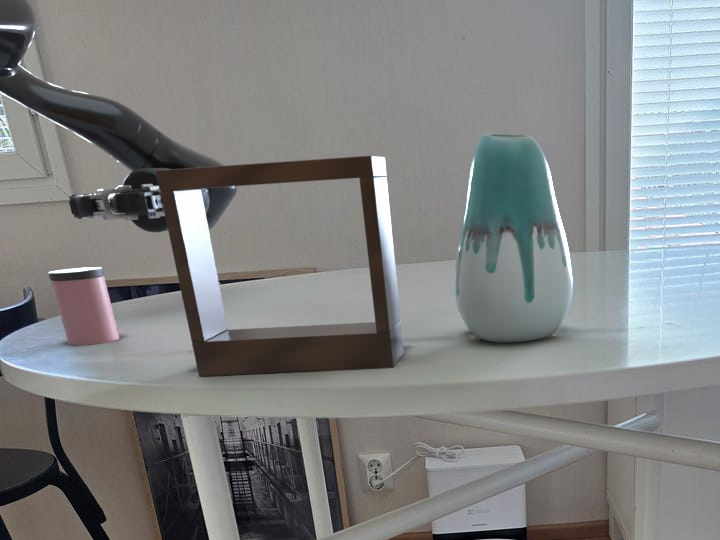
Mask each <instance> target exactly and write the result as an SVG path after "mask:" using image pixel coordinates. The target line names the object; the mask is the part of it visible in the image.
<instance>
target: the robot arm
mask: <svg viewBox="0 0 720 540" xmlns="http://www.w3.org/2000/svg"><path fill="white" fill-rule="evenodd" d="M36 27H37V20H36V14H35V12H34V9H33V6H32V5H31V3H30V1H29V0H0V94H1V95H4V96H6V97H7V98H9V99H11V100H13V101H15V102H17V103H18V104H20V105H22V106H24V107H25V108H28V109H29V110H31V111H33V112H35V113H37V114H38V115H40V116H43V117H44V118H45V119H48V120H49V121H51V122H54V123H55V124H57V125H58V126H61V127H63V128H65V129H67V130H68V131H71V132H72V133H74V134H76V135H77V136H79V137H80V138H82V139H84V140H86V141H87V142H89V143H90V144H92V145H93V146H95V147H96V148H98V149H100V150H101V151H103V152H104V153H106V154H107V155H108V156H110V157H111V158H112V159H114V160H115V161H116V162H118V163H119V164H121V166H123V167H125V168H126V169H127V170H129V171H130V173H128V175H127V176H126V177H125V178H124V180H123V181H122V185H118V186H116V187H115V188H103V189H102V188H101V189H100V188H99V189H97V190H96V191H95V192H92V193H91V194H88V193H82V195H77V194H76V193H75V194H71V195H69V196H68V198H69V201H68V204H69V207H70V212H71V215H73V218H75V219H78V220H82V219H83V218H88V219H94V218H95V217H99V218H100V217H101V218H102V219H103V220H105V221H111V220H113V221H114V220H125V221H131V222H132V223H133V224H134V225H135V226H136V227H138V228H139V229H141V230H143V231H145V232H148V233H163V232H168V227H167V222H166V218H165V213H164V208H163V204H162V199H161V194H160V190H159V185H158V180H157V176H156V170H169V169H184V168H198V167H213V166H226V165H225V164H224V163H223V162H220V161H219V160H217V159H215V158H213V157H211V156H208V155H206V154H204V153H201V152H199V151H197V150H194V149H192V148H189V147H188V146H186V145H183V144H181V143H180V142H178V141H176V140H174V139H172V138H171V137H170V136H168V135H166V134H165V133H163V132H162V131H161V130H159V129H158V128H157V127H156V126H154V125H153V124H152V123H151V122H149V121H148V120H147V119H145V118H144V117H142V115H140V114H139V113H138V112H136V111H135V110H133V109H132V108H131V107H129V106H127V105H126V104H123V103H121V102H119V101H117V100H115V99H111V98H108V97H105V96H101V95H96V94H92V93H86V92H82V91H77V90H72V89H68V88H65V87H61V86H58V85H56V84H55V85H54V84H53V83H50V82H48V81H45V80H44V79H41V78H40V77H38V76H36V75H34V74H33V73H31V72H30V71H28V70H27V69H26V68H24V67H23V66H21V65H20V64H21V63H22V61H23V59H24V58H25V57H24V56H25V55H26V54H27V51H28V49H29V47H30V45H31V44H32V42H33V38H34V36H35V32H36ZM201 192H202V197H203V203H204V208H205V213H206V218H207V224H208V229H209V231H211V230H212V229H213V228H214V227H215V226H216V225H217V223H218V222H219V220H220V219H221V218H222V215H223V214H224V213H225V211H226V210H227V209H228V207H229V206H230V204H231V203H232V202H233V200H234V199H235V197H236V195H237V193H238V186H232V187H217V188H202V189H201Z"/></svg>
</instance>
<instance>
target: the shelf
mask: <svg viewBox="0 0 720 540" xmlns="http://www.w3.org/2000/svg"><path fill="white" fill-rule="evenodd" d="M156 176H157V180H158V185H159V190H160V194H161V199H162V204H163V208H164V213H165V218H166V222H167V227H168V231H167V232H168V236H169V242H170V245H171V251H172V255H173V259H174V264H175V269H176V274H177V279H178V283H179V288H180V294H181V297H182V302H183V307H184V311H185V312H184V313H185V316H186V321H187V325H188V326H187V327H188V330H189V335H190V341H191V346H192V350H193V355H194V359H195V364H196V370H197V375H198V377H219V376H221V377H222V376H237V375H238V376H239V375H241V376H242V375H260V374H261V375H262V374H263V375H264V374H281V373H282V374H284V373H285V374H286V373H303V372H304V373H305V372H323V371H324V372H325V371H346V370H347V371H348V370H365V369H366V370H368V369H369V370H371V369H386V368H387V369H388V368H389V369H390V368H391V369H392V368H394V367H395V366H396V364H397V363H398V362H399V360H400V359H401V358H402V356H403V355H404V354H405V349H404V341H403V340H404V339H403V331H402V322H401V321H402V319H401V311H400V310H401V309H400V298H399V289H398V288H399V287H398V278H397V270H396V260H395V259H396V257H395V248H394V247H395V246H394V237H393V227H392V218H391V216H392V215H391V207H390V197H389V196H390V195H389V187H388V177H387V166H386V157H385V156H384V155H383V156H380V155H360V156H345V157H331V158H318V159H317V158H316V159H315V158H314V159H303V160H302V159H301V160H288V161H287V160H285V161H272V162H257V163H243V164H228V165H227V164H226V165H225V166H213V167H198V168H184V169H169V170H156ZM350 179H352V180H353V179H359V186H360V187H359V188H360V197H361V203H362V204H361V206H362V214H363V223H364V232H365V243H366V250H367V259H368V260H367V261H368V269H369V276H370V286H371V287H370V288H371V295H372V305H373V313H374V314H373V315H374V322H355V323H354V322H352V323H335V324H334V323H333V324H315V325H313V324H311V325H296V326H294V325H293V326H292V325H291V326H276V327H258V328H257V327H256V328H237V329H234V328H233V329H228V324H227V318H226V314H225V309H224V303H223V297H222V292H221V286H220V282H219V277H218V276H219V275H218V271H217V266H216V261H215V256H214V255H215V254H214V251H213V246H212V245H213V244H212V240H211V235H210V230H209V229H208V224H207V218H206V213H205V208H204V203H203V197H202V192H201V189H202V188H217V187H232V186H237V187H247V186H260V185H261V186H263V185H274V184H276V185H277V184H289V183H290V184H291V183H303V182H304V183H306V182H307V183H308V182H319V181H320V182H321V181H334V180H335V181H337V180H350Z"/></svg>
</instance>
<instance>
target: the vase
mask: <svg viewBox="0 0 720 540" xmlns="http://www.w3.org/2000/svg"><path fill="white" fill-rule="evenodd" d="M467 179H468V181H467V187H466V195H465V201H464V211H463V216H462V221H461V227H460V232H459V236H458V237H459V238H458V243H457V249H456V258H455V267H454V299H455V304H456V307H457V311H458V313H459V316H460V318H461V320H462V322H463V324H464V325H465V326H466V327H467V329H468V330H469V331H470V332H471V334H473V335H474V336H475V337H476V338H478V339H480V340H483V341H487V342H491V343H524V342H532V341H536V340H537V341H538V340H541V339H543V338H547V337H549V336H551V335H552V334H554V333H555V332H556V331H557V330H558V329H559V328H560V327H561V325H562V324H563V323H564V321H565V319H566V317H567V315H568V313H569V310H570V307H571V304H572V298H573V291H574V286H573V285H574V279H573V270H572V269H573V268H572V262H571V256H570V250H569V245H568V241H567V237H566V232H565V229H564V226H563V222H562V219H561V215H560V211H559V207H558V203H557V199H556V195H555V190H554V185H553V180H552V175H551V170H550V167H549V164H548V160H547V159H546V156H545V153H544V151H543V149H542V148H541V146H540V145H539V143H538V142H537V141H536V139H535V138H534V137H532V135H530V134H523V133H522V134H521V133H501V132H499V133H497V132H494V133H493V132H492V133H490V132H489V133H481V135H480V137H479V140H478V141H477V144H476V146H475V150H474V152H473V154H472V158H471V163H470V166H469V173H468V178H467Z"/></svg>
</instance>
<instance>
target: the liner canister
mask: <svg viewBox="0 0 720 540" xmlns="http://www.w3.org/2000/svg"><path fill="white" fill-rule="evenodd" d="M47 274H48V277H49V281H50V282H51V287H52V290H53V293H54V298H55V301H56V304H57V308H58V311H59V315H60V318H61V322H62V325H63V329H64V333H65V336H66V340H67V344H68V345H71V346H88V345H97V344H104V343H111V342H114V341H117V340H119V339H120V333H119V330H118V326H117V322H116V319H115V314H114V310H113V306H112V303H111V299H110V294H109V291H108V286H107V282H106V279H105V273H104V269H103V267H101V266H89V267H75V268H64V269H58V270H57V269H56V270H51V271H49V272H48V273H47Z"/></svg>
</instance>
